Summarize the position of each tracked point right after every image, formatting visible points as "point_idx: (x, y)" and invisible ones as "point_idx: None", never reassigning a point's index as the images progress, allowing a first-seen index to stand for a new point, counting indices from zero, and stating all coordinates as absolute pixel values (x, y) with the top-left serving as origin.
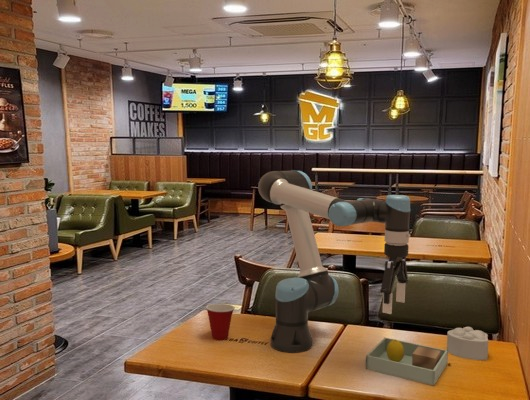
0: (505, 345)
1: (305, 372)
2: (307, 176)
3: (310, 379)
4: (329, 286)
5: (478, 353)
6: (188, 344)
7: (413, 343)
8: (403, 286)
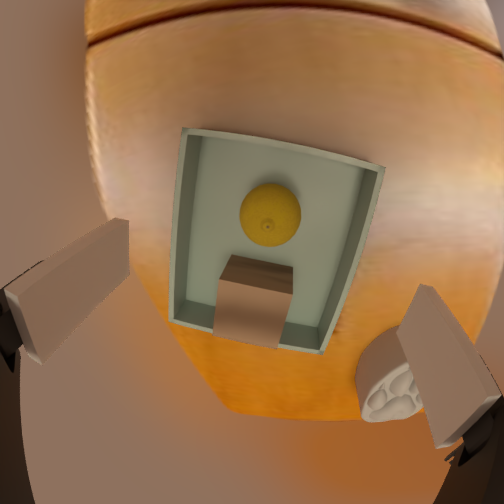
0: None
1: (137, 10)
2: None
3: (108, 36)
4: None
5: (357, 390)
6: None
7: (355, 269)
8: (435, 422)
